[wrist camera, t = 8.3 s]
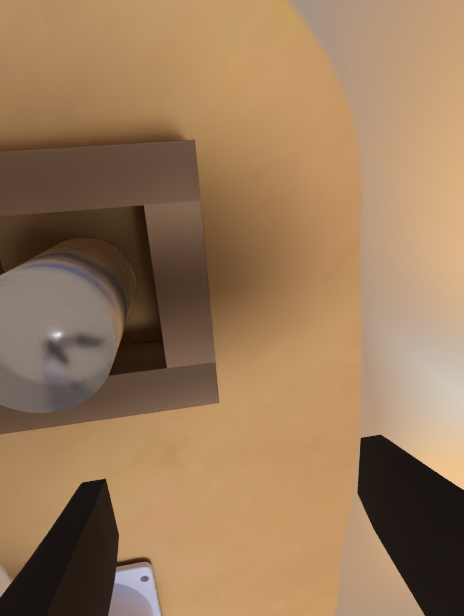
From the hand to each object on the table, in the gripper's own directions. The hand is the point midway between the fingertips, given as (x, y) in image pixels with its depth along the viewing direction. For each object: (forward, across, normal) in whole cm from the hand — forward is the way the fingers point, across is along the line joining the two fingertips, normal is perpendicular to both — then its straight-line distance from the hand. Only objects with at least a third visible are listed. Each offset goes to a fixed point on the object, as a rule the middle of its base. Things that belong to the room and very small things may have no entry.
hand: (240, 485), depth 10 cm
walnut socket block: (+9, +6, -4) cm, 12 cm away
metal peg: (+9, +5, -4) cm, 12 cm away
